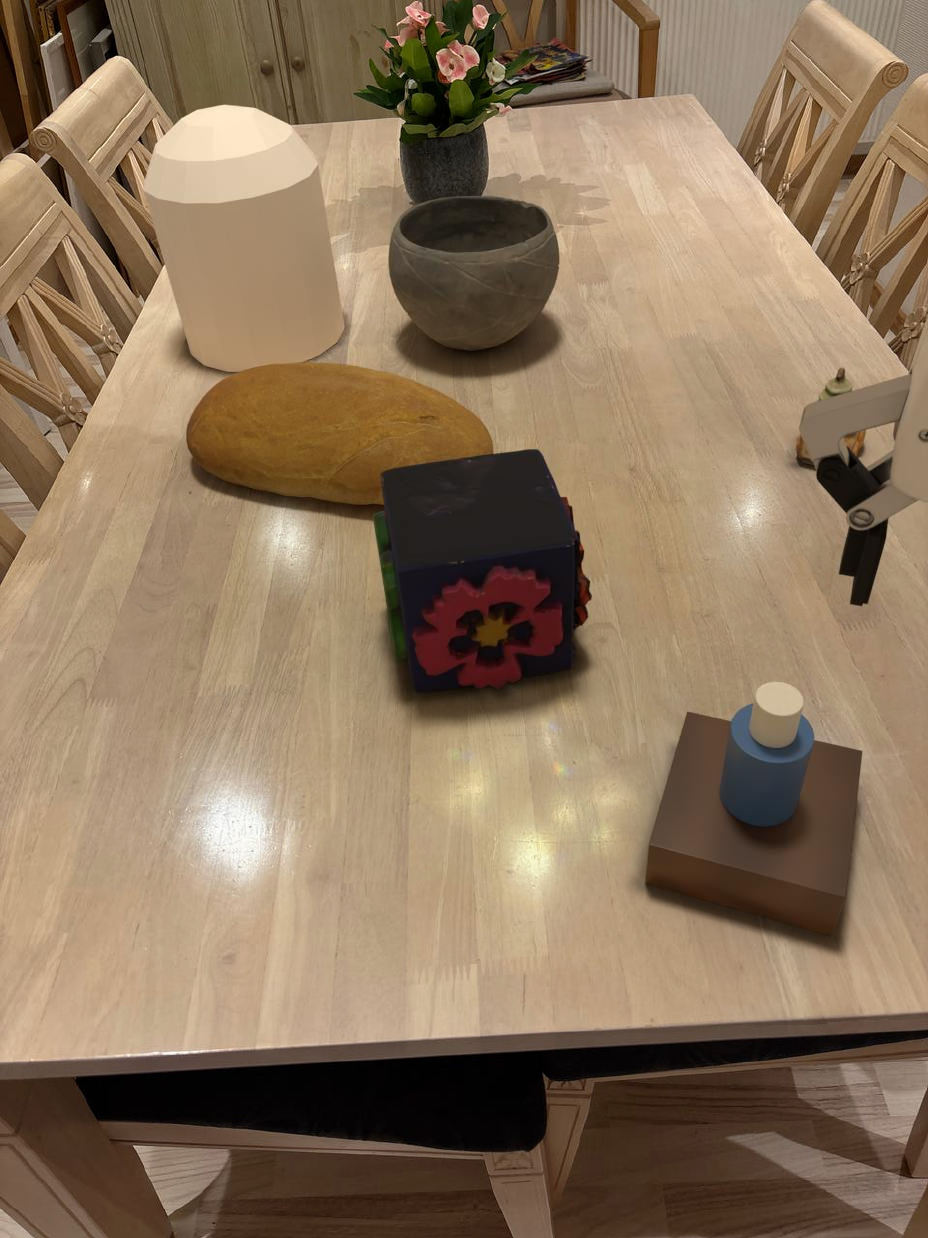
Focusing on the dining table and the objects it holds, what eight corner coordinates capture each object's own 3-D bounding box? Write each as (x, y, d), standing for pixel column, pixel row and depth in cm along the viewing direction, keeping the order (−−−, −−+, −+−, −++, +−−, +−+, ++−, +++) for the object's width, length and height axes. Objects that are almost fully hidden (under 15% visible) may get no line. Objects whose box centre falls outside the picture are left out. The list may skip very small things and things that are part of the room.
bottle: (802, 776, 65) (827, 678, 59) (792, 835, 62) (818, 738, 55) (726, 758, 67) (743, 660, 60) (712, 815, 63) (729, 718, 57)
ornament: (805, 427, 104) (822, 341, 98) (865, 437, 102) (886, 350, 96) (790, 466, 99) (806, 378, 93) (852, 478, 97) (874, 388, 90)
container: (301, 381, 120) (252, 138, 101) (157, 362, 126) (85, 131, 107) (371, 307, 134) (339, 83, 115) (238, 294, 140) (187, 79, 122)
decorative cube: (600, 677, 79) (605, 543, 70) (403, 711, 78) (381, 579, 69) (556, 561, 91) (555, 432, 81) (383, 589, 89) (361, 461, 80)
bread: (466, 535, 95) (458, 448, 88) (162, 484, 105) (135, 402, 98) (522, 437, 107) (520, 353, 100) (246, 400, 117) (227, 322, 111)
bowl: (528, 386, 115) (525, 261, 105) (369, 364, 122) (352, 245, 112) (580, 309, 129) (581, 193, 119) (434, 294, 136) (424, 183, 126)
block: (849, 791, 69) (862, 750, 66) (831, 936, 61) (845, 898, 58) (682, 751, 73) (687, 711, 70) (644, 883, 65) (648, 844, 62)
